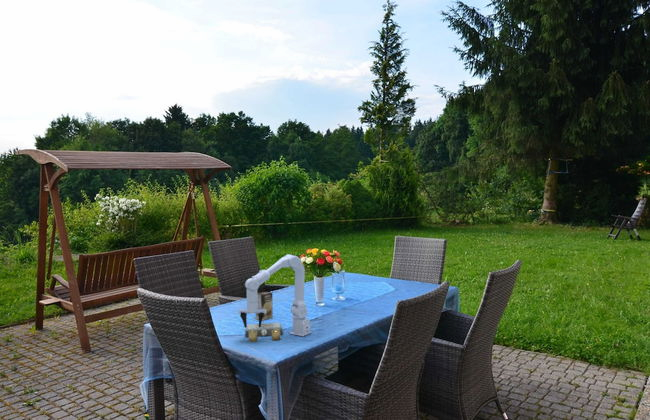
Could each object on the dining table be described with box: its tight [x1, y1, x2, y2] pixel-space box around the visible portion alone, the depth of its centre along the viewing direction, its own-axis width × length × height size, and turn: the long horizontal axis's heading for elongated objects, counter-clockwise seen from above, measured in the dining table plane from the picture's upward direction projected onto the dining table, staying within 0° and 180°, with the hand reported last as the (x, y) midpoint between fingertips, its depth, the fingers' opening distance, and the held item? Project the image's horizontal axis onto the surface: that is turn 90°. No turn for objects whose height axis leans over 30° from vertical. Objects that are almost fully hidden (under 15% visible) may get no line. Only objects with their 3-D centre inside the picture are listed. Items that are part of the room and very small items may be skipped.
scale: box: [245, 322, 284, 338], centre depth 265 cm, size 14×20×4 cm
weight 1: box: [248, 330, 258, 343], centre depth 251 cm, size 4×4×5 cm
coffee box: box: [255, 291, 274, 322], centre depth 295 cm, size 9×6×16 cm
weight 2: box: [271, 329, 281, 342], centre depth 253 cm, size 4×4×5 cm
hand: (252, 327), depth 251 cm, fingers open, 7 cm apart
